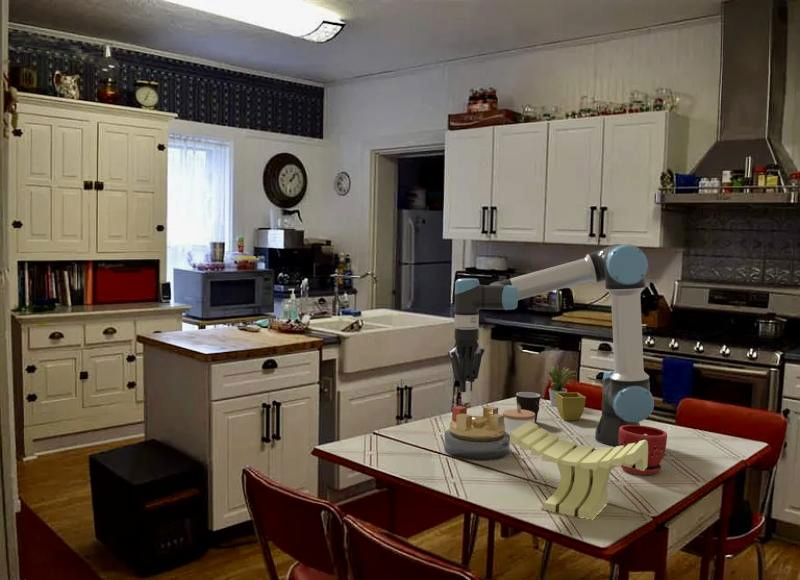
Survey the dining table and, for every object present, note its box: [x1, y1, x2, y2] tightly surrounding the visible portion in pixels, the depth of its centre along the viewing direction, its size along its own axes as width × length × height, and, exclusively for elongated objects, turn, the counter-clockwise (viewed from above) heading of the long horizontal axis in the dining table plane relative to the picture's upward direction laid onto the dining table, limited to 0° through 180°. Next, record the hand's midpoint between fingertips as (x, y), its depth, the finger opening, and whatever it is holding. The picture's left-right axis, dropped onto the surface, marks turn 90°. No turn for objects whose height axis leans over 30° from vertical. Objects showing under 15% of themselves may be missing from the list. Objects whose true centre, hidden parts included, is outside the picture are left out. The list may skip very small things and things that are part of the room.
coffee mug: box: [515, 391, 541, 424], centre depth 260 cm, size 12×9×10 cm
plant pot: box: [618, 424, 668, 476], centre depth 210 cm, size 13×13×12 cm
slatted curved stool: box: [510, 422, 648, 519], centre depth 182 cm, size 30×16×18 cm, turn 59°
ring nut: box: [449, 405, 506, 442], centre depth 225 cm, size 17×17×7 cm
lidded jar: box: [502, 408, 535, 436], centre depth 244 cm, size 11×11×9 cm
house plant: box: [543, 364, 577, 407], centre depth 288 cm, size 14×14×16 cm
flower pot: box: [556, 392, 587, 421], centre depth 268 cm, size 9×9×9 cm
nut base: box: [443, 428, 510, 462], centre depth 226 cm, size 20×20×5 cm
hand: (465, 401), depth 231 cm, fingers closed
